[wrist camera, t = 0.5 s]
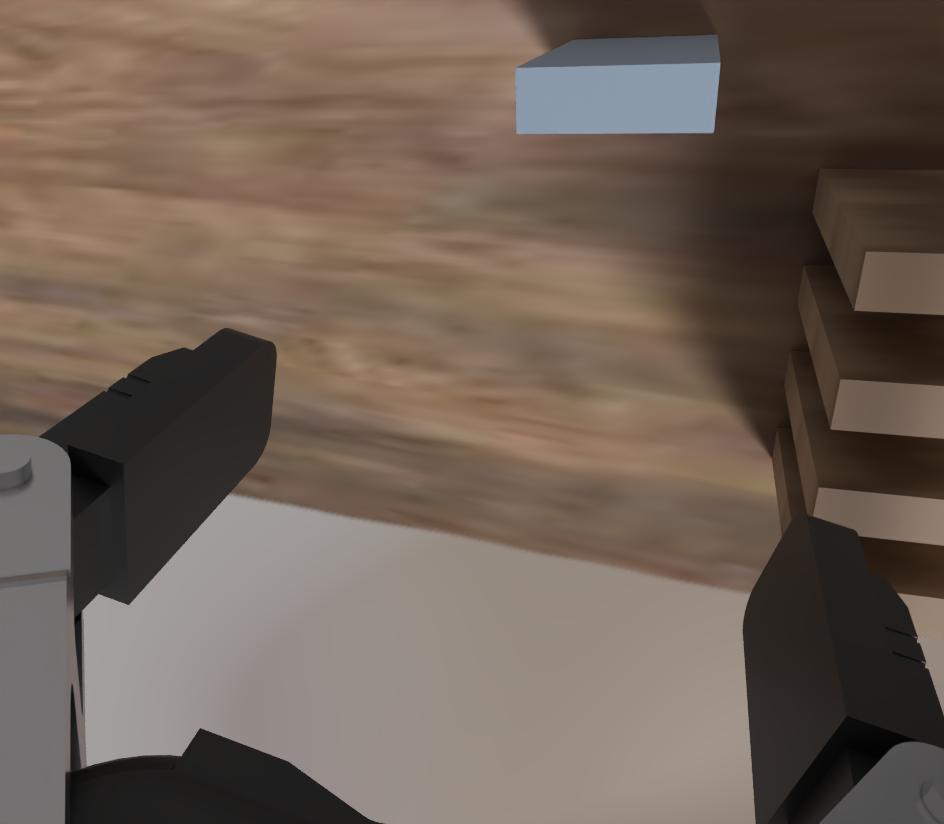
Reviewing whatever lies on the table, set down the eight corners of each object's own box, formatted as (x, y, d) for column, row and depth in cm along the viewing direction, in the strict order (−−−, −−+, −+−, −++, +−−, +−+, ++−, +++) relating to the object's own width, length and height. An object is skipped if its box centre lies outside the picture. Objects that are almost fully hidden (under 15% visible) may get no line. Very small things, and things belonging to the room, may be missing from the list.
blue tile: (717, 34, 27) (720, 62, 19) (712, 84, 28) (713, 133, 19) (573, 39, 28) (515, 68, 20) (572, 87, 29) (516, 133, 21)
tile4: (926, 358, 30) (1009, 506, 22) (917, 395, 31) (993, 551, 23) (789, 350, 32) (818, 487, 23) (784, 385, 32) (810, 530, 24)
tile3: (949, 270, 29) (1048, 393, 20) (938, 310, 29) (1030, 446, 21) (803, 264, 30) (840, 379, 21) (797, 304, 31) (830, 429, 22)
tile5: (905, 438, 32) (975, 603, 24) (897, 470, 33) (962, 641, 24) (777, 427, 33) (800, 580, 25) (772, 459, 34) (792, 618, 26)
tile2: (974, 169, 27) (1095, 258, 19) (963, 215, 28) (1073, 321, 19) (819, 168, 28) (866, 251, 20) (812, 212, 29) (853, 310, 21)
